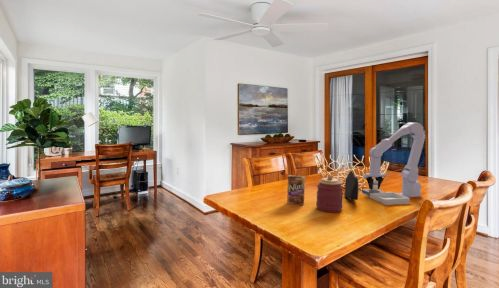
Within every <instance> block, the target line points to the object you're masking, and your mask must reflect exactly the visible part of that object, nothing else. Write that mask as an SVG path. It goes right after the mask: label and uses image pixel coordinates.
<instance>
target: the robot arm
mask: <svg viewBox="0 0 499 288" xmlns="http://www.w3.org/2000/svg"><path fill="white" fill-rule="evenodd" d="M404 135H410V136H411V138H413V141H412V145H411V149H410V153H409V155H408V160H407V164H406V165H405V166H404V168H403V170H402V171H401V174H400V175H401V177H402V185H401V192H398V193H397V194H400V195H403V196H405V197H408V198H414V197H415V198H421V197H422V195H421V189H422V185H421V183H420V182H419V181H418V180H419V178H420V177H419V168H418V165H419V162H420V158H421V154H422V151H423V148H424V143H425V140H426V135H425V131H424V126H423V125H422V124H421V123H420V122H410V121H409V122H406V123H404V125H402V126H401V127H400V128H398V129H397V131H395V132H394V133H393V134H392V135H391V136H390V137H389V138H383V139H381V140H380V142H378V144H375V145H374V146H375V147H372V148H370V150H369V155H370V160H369V164H370V165H369V173H364V174H363V175H362V178H364V179H365V180H366V182H367V185H368V189H371V190H372V188H373V181H374V180H377V181H378V190H380V187H381V185H382V183H383V182H384V179H385V178H387V174H386V173H381V163H382V162H381V160H382V159H381V157H382V156H383V153H385V152H386V151H387V150H389V149H390V148H391V147H392V146H393V143H394V142H396V141H397V140H399V138H401V137H403V136H404ZM374 178H375V179H374Z"/></svg>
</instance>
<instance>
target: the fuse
mask: <svg viewBox="0 0 499 288" xmlns="http://www.w3.org/2000/svg"><path fill="white" fill-rule="evenodd" d="M378 190H379V189H378V181H377V180H376V179H374V181H373V188H372V190H370V191H371V192H378Z"/></svg>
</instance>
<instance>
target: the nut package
mask: <svg viewBox="0 0 499 288" xmlns="http://www.w3.org/2000/svg"><path fill="white" fill-rule="evenodd" d="M305 184H306V176H305V175H293V174H288V176H287V194H286V195H287V198H286V204H288V205H290V204H291V205H299V206H301V205H302V206H304V204H305V190H306V189H305V188H306V187H305V186H306V185H305Z"/></svg>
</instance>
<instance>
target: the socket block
mask: <svg viewBox="0 0 499 288" xmlns="http://www.w3.org/2000/svg"><path fill="white" fill-rule="evenodd" d="M370 190H371V189H369V188H363V189H361V191H360V190H358V193H360V194H362V195H365V196H367V197H369V198H370V193H383V192H384V191H383V190H380V189H378V192H371V191H370Z"/></svg>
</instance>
